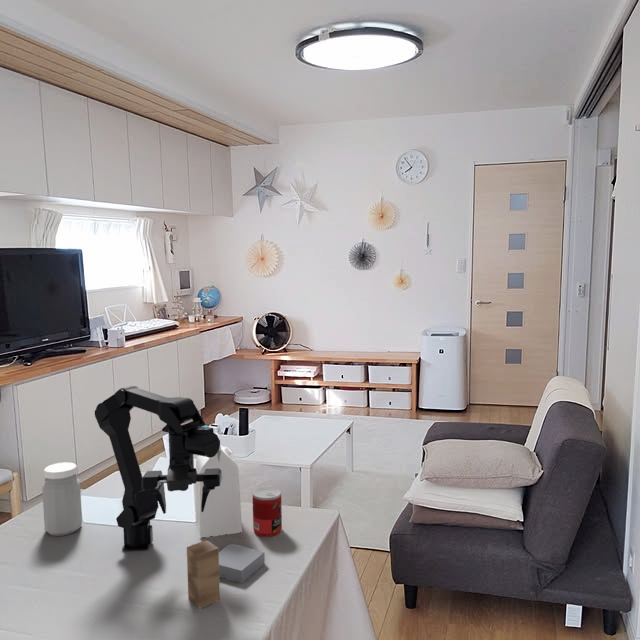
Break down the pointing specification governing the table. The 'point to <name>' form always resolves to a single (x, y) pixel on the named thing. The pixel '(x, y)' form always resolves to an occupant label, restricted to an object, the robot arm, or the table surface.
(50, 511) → the jar
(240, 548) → the plate
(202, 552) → the walnut block
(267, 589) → the table surface
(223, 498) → the milk
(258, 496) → the canned food
